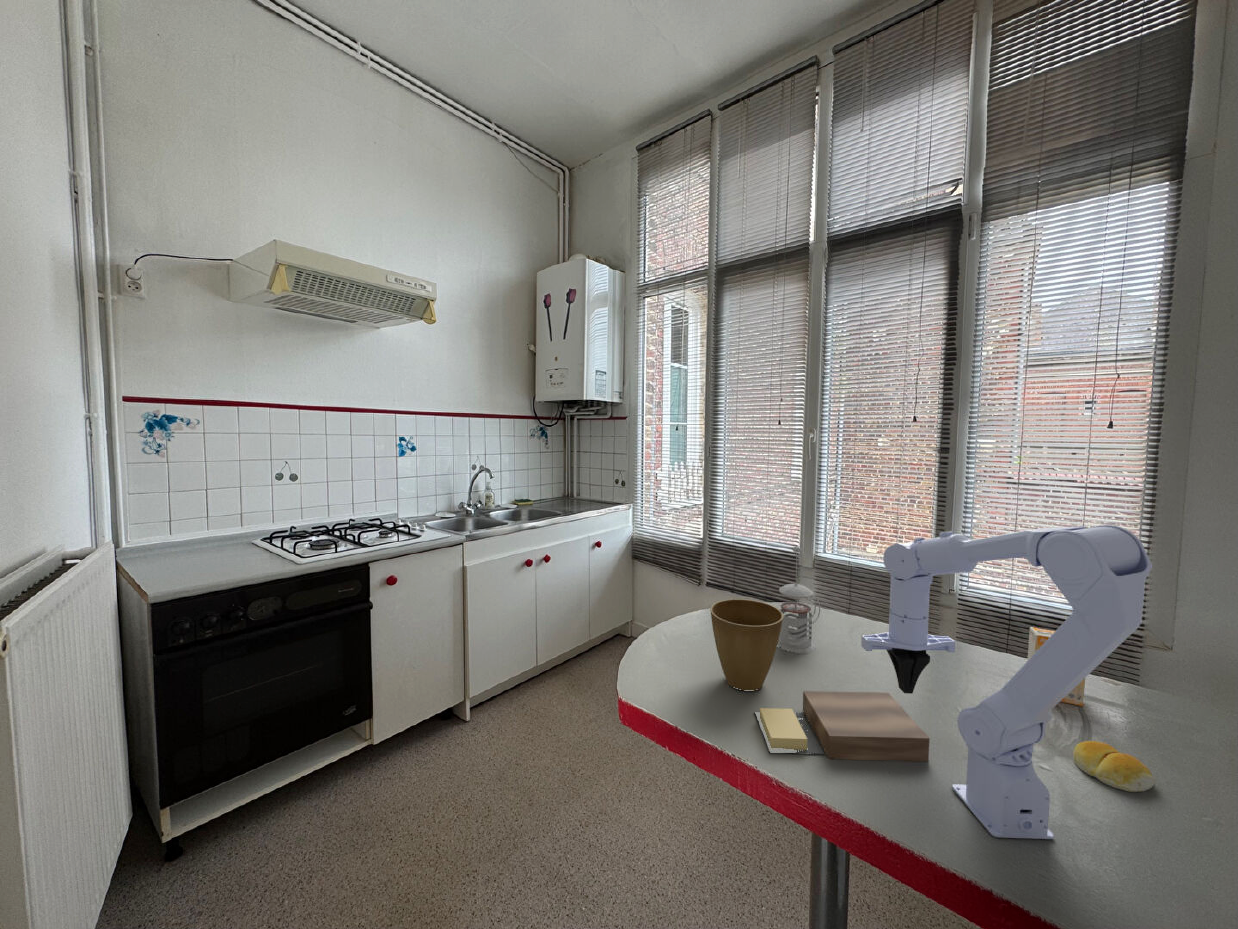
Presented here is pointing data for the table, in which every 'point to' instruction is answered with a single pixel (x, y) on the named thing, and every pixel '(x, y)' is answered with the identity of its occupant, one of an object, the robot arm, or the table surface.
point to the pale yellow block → (783, 729)
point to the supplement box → (1035, 642)
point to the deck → (864, 726)
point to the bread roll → (1112, 766)
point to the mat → (809, 737)
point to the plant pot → (746, 640)
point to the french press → (791, 637)
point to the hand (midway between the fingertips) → (905, 690)
